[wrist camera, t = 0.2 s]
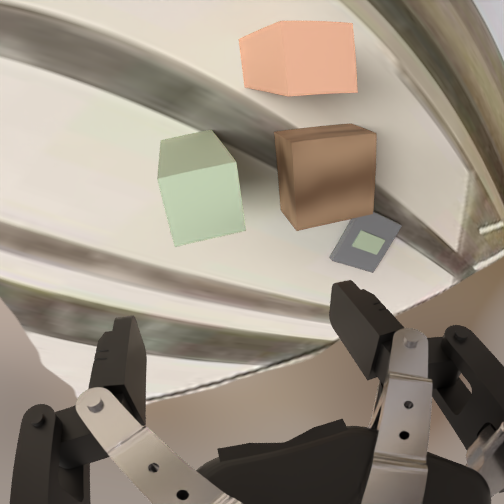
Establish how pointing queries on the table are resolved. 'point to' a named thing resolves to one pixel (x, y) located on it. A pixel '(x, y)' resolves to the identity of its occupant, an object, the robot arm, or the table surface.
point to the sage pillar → (199, 188)
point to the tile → (365, 241)
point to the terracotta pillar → (300, 58)
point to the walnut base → (325, 174)
